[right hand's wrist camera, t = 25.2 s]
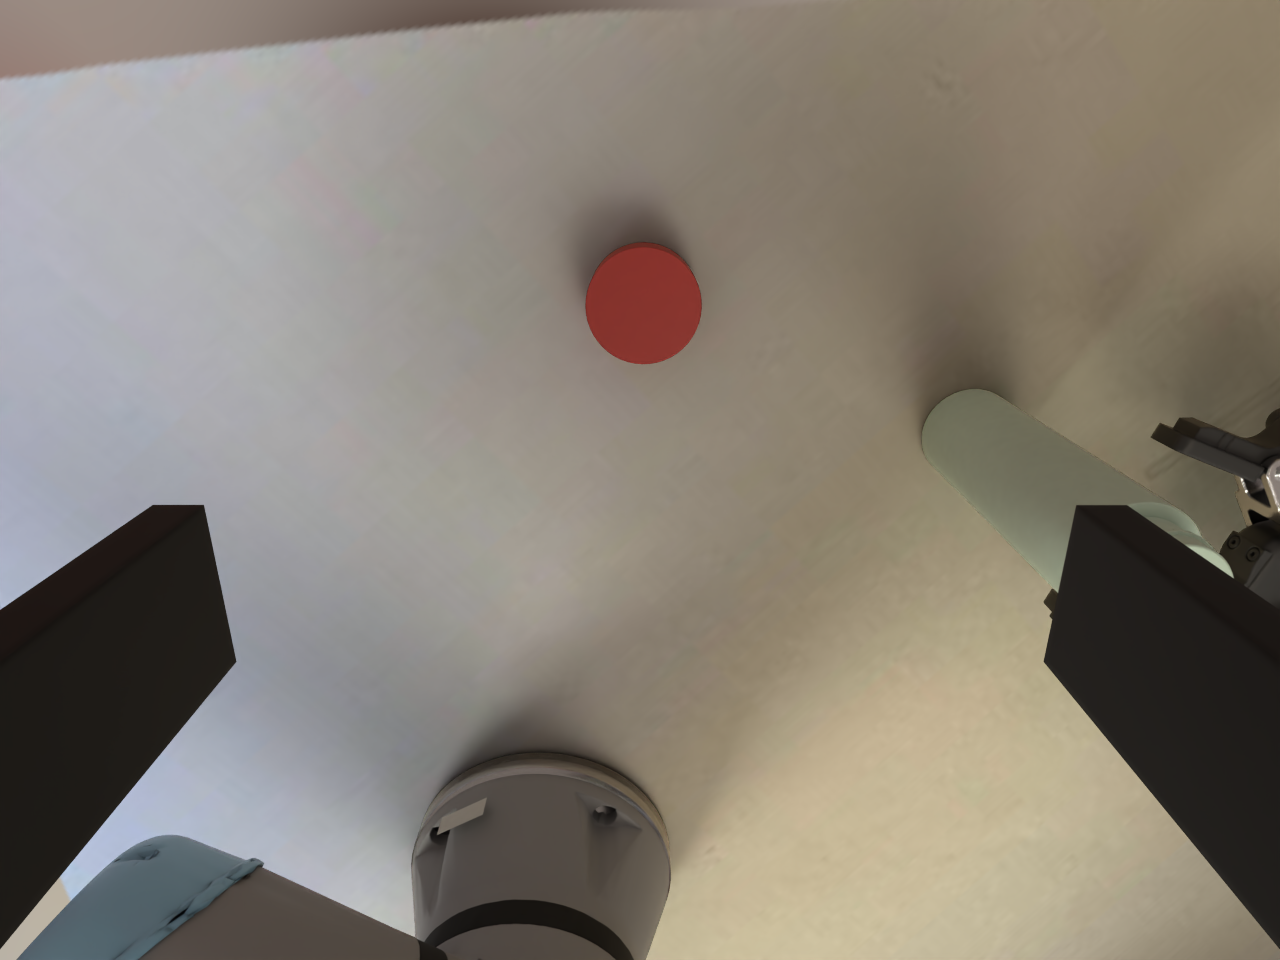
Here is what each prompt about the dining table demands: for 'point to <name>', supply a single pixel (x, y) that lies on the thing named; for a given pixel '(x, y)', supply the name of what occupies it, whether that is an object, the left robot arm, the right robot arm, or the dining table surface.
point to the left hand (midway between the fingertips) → (1107, 524)
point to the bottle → (1036, 479)
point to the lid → (643, 303)
